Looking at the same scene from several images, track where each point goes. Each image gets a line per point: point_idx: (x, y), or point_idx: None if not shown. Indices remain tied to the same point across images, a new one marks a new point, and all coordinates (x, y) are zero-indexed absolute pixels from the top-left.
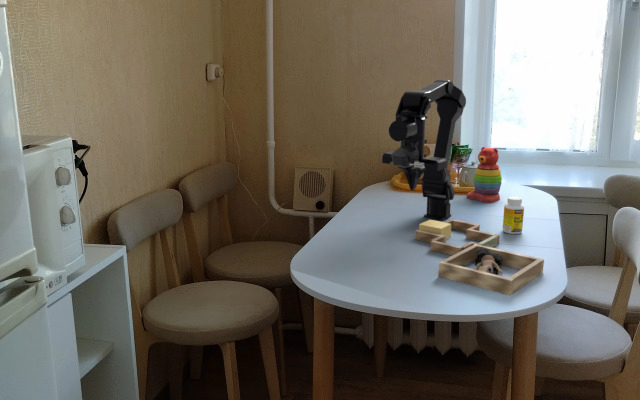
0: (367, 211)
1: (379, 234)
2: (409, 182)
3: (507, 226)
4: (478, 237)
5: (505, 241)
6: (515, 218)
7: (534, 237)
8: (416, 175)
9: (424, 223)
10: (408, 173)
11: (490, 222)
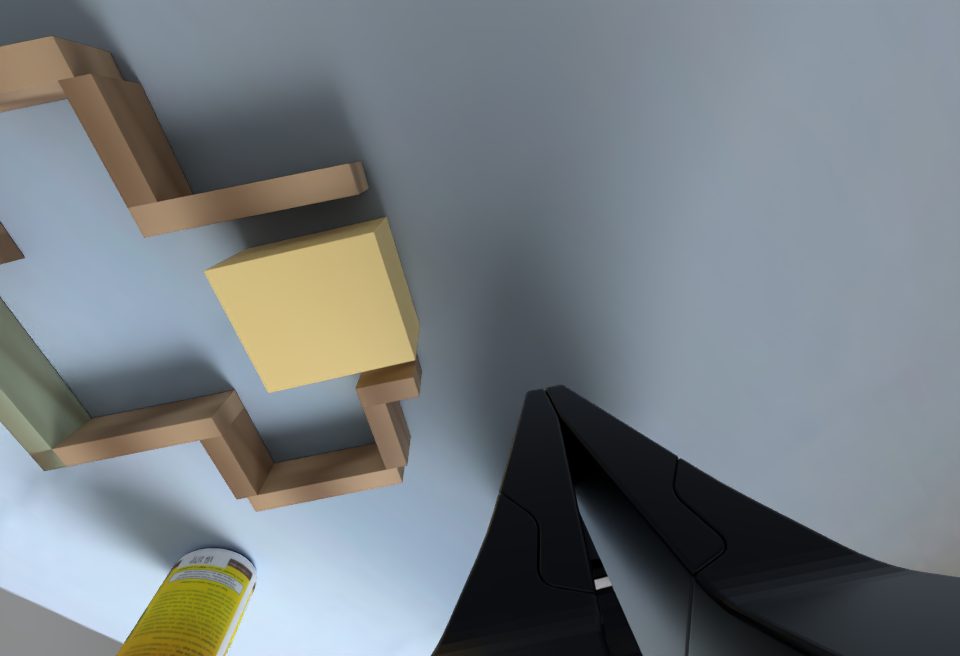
0: (875, 333)
1: (580, 45)
2: (601, 433)
3: (186, 575)
4: (158, 413)
5: (110, 479)
6: (131, 632)
7: (115, 580)
8: (457, 606)
9: (368, 275)
10: (708, 572)
11: (366, 585)
